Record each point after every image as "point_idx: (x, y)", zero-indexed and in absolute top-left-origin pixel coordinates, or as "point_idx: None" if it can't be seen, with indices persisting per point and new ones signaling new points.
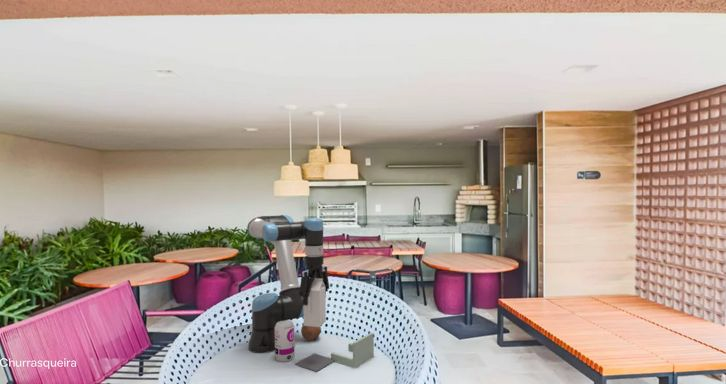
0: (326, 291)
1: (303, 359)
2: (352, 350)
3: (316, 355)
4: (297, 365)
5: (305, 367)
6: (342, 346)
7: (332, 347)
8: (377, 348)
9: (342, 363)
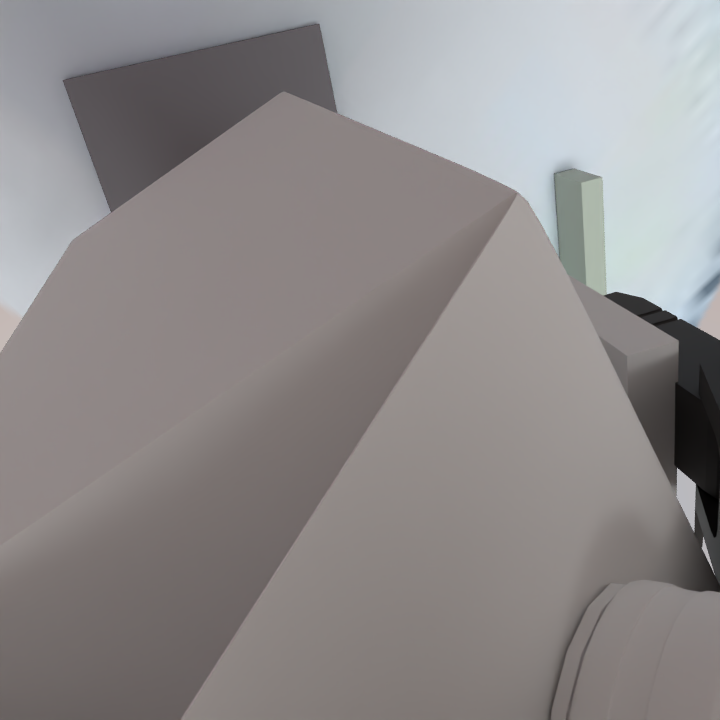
0: (696, 531)
1: (169, 66)
2: (561, 214)
3: (304, 81)
4: (77, 116)
5: (111, 209)
6: (584, 69)
7: (519, 18)
8: (695, 289)
9: None
